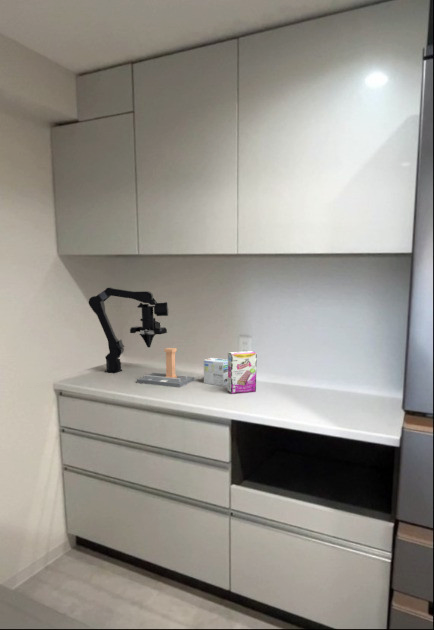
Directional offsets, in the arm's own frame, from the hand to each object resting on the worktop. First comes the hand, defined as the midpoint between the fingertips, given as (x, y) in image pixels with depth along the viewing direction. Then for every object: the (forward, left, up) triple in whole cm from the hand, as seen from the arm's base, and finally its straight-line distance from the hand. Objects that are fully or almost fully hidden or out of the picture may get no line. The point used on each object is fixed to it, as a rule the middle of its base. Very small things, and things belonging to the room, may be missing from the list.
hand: (148, 347), depth 217 cm
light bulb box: (+42, -10, -12) cm, 45 cm away
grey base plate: (+19, -16, -12) cm, 27 cm away
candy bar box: (+57, -19, -12) cm, 61 cm away
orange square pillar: (+21, -16, -10) cm, 28 cm away
